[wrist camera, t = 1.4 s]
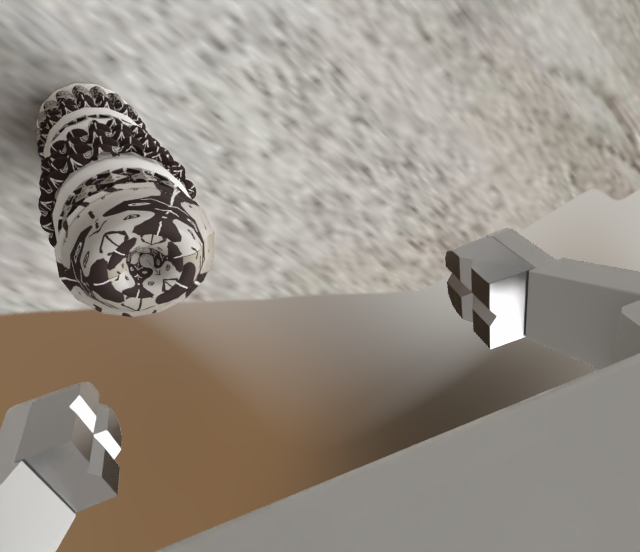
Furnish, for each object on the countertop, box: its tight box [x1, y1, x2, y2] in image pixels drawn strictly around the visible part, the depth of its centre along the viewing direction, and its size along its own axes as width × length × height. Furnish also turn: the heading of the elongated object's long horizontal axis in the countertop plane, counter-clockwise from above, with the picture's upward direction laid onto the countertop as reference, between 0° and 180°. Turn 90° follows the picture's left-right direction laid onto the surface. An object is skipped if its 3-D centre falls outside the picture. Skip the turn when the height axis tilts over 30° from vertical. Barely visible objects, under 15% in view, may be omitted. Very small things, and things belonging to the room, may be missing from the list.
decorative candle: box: [36, 83, 214, 317], centre depth 33 cm, size 9×9×25 cm
